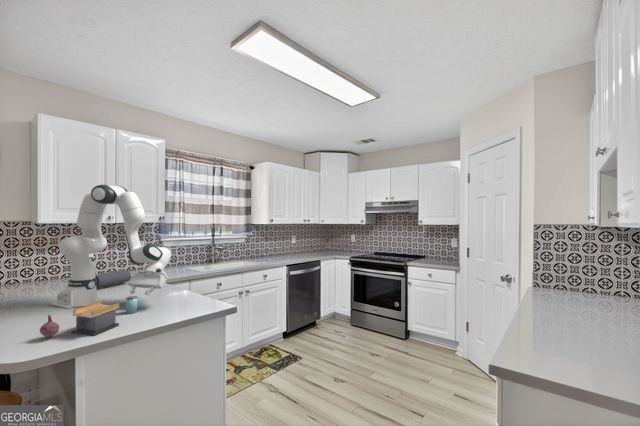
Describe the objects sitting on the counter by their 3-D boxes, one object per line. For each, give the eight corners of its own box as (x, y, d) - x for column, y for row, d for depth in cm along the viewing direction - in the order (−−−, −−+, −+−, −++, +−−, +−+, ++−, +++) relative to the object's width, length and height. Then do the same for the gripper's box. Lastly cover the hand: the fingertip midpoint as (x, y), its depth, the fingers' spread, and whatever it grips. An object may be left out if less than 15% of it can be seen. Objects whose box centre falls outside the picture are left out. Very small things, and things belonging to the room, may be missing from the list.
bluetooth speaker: (122, 282, 221) (123, 268, 222) (131, 283, 218) (132, 270, 218) (90, 289, 200) (90, 274, 200) (99, 290, 197) (100, 275, 197)
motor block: (65, 333, 128) (65, 309, 128) (94, 322, 142) (95, 300, 142) (93, 336, 126) (93, 312, 126) (120, 324, 139) (121, 303, 140)
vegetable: (48, 335, 126) (48, 311, 126) (63, 335, 126) (64, 311, 127) (35, 341, 120) (36, 316, 120) (51, 341, 120) (51, 316, 120)
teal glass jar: (123, 313, 155) (124, 298, 155) (131, 310, 160) (131, 295, 160) (131, 314, 154) (132, 299, 154) (139, 311, 159) (139, 296, 159)
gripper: (134, 268, 171) (119, 289, 161) (165, 270, 167) (152, 292, 157) (139, 274, 175) (125, 295, 165) (170, 276, 171) (158, 298, 162)
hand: (139, 293), depth 161 cm, fingers open, 8 cm apart
